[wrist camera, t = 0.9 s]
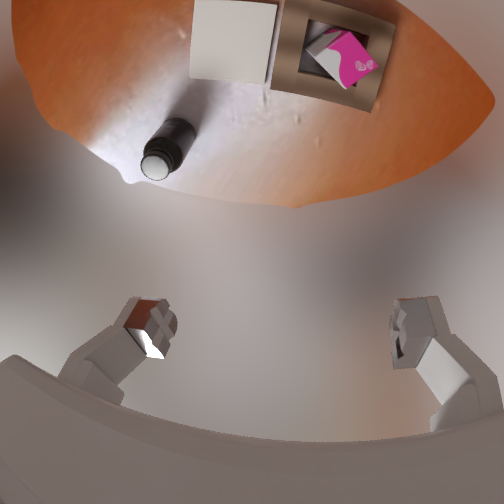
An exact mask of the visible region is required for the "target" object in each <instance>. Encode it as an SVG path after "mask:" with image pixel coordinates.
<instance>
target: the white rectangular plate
mask: <svg viewBox="0 0 504 504" xmlns="http://www.w3.org/2000/svg"><path fill="white" fill-rule="evenodd" d="M276 10H277V5H274V4H266V3H257V2H247V1H231V0H195V5H194V15H193V26H192V38H191V52H190V69H189V79H210V80H224V81H235V82H244V83H252V84H260V85H264V83H265V77H266V71H267V64H268V58H269V52H270V46H271V40H272V34H273V28H274V22H275V16H276Z"/></svg>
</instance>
